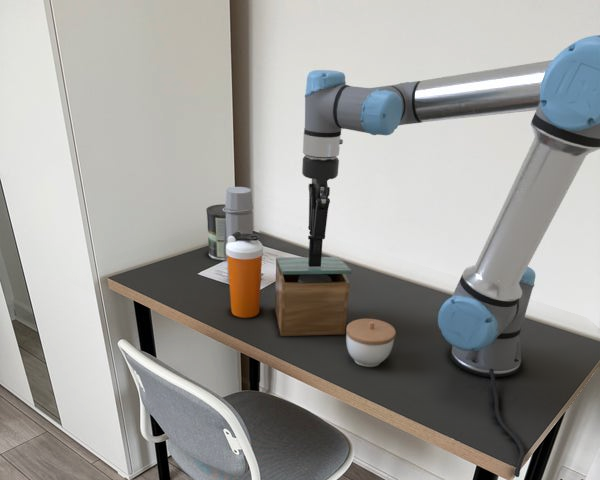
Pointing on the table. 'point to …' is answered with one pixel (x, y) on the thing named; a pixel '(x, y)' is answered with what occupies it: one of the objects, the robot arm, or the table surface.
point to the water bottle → (238, 213)
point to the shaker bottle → (244, 273)
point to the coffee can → (216, 231)
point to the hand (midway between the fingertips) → (314, 265)
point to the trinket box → (369, 341)
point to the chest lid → (301, 267)
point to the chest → (311, 305)
